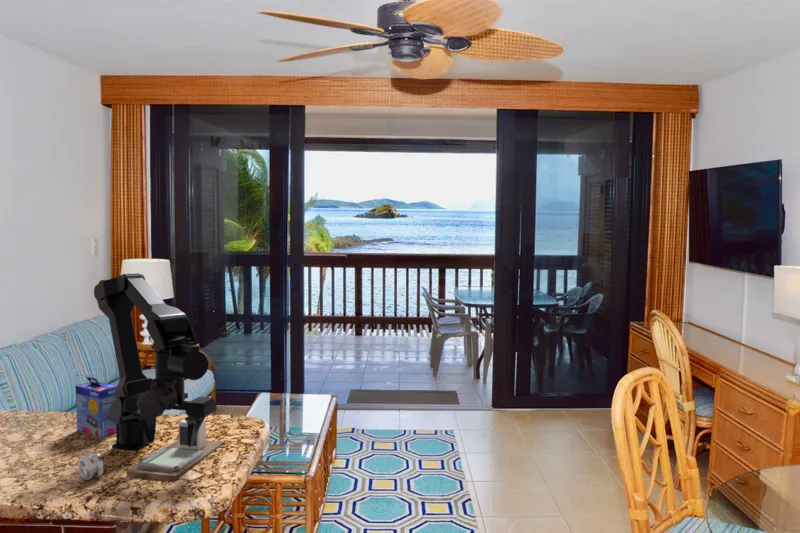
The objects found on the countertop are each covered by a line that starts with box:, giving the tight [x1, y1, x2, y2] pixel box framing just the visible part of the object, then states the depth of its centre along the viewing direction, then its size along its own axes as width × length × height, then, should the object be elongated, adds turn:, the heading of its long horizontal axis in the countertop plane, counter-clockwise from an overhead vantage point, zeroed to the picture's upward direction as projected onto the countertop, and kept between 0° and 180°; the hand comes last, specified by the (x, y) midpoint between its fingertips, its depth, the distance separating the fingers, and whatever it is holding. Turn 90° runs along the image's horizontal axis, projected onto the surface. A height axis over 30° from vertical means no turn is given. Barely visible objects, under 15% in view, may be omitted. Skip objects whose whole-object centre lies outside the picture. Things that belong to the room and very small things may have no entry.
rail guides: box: [137, 446, 202, 472], centre depth 128 cm, size 10×10×1 cm
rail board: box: [126, 439, 225, 481], centre depth 131 cm, size 11×20×1 cm, turn 168°
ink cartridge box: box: [75, 376, 117, 438], centre depth 148 cm, size 10×6×14 cm, turn 61°
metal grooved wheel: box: [77, 451, 104, 481], centre depth 122 cm, size 5×3×5 cm, turn 51°
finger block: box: [178, 418, 207, 450], centre depth 136 cm, size 5×3×6 cm
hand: (170, 444), depth 128 cm, fingers open, 9 cm apart
